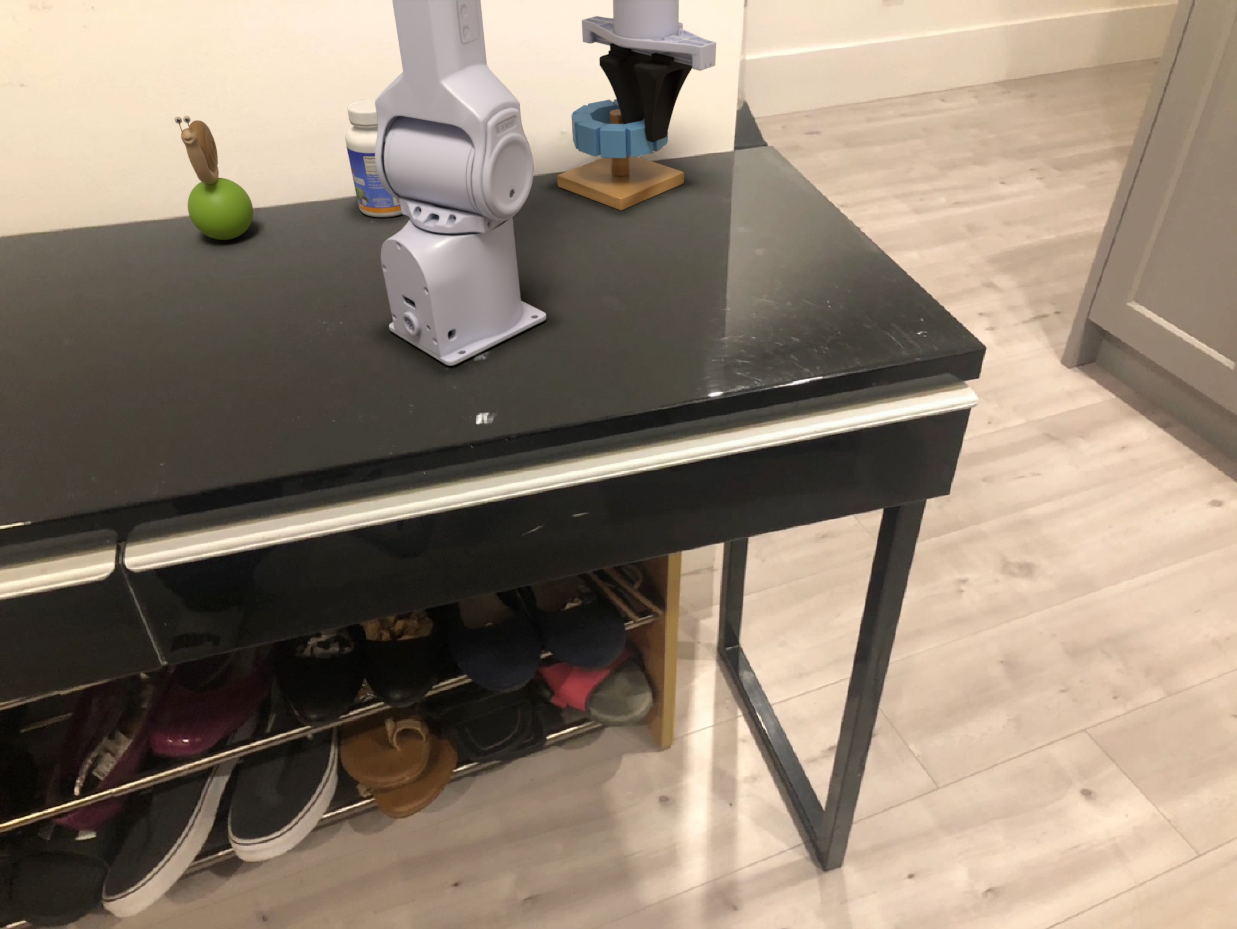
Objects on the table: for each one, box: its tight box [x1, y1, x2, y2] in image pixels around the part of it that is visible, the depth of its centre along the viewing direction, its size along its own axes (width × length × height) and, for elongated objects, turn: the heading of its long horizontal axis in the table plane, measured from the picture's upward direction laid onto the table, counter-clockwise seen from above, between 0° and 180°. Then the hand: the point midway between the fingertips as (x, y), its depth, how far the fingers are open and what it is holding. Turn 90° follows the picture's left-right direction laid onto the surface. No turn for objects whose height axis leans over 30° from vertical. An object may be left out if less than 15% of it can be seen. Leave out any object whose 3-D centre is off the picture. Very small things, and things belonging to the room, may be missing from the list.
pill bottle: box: [344, 98, 403, 218], centre depth 86 cm, size 5×5×10 cm
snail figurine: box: [174, 115, 254, 241], centre depth 80 cm, size 5×6×12 cm
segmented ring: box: [570, 98, 669, 159], centre depth 88 cm, size 9×9×3 cm
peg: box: [556, 109, 685, 211], centre depth 90 cm, size 9×9×7 cm
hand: (646, 135), depth 86 cm, fingers closed on segmented ring, 2 cm apart
